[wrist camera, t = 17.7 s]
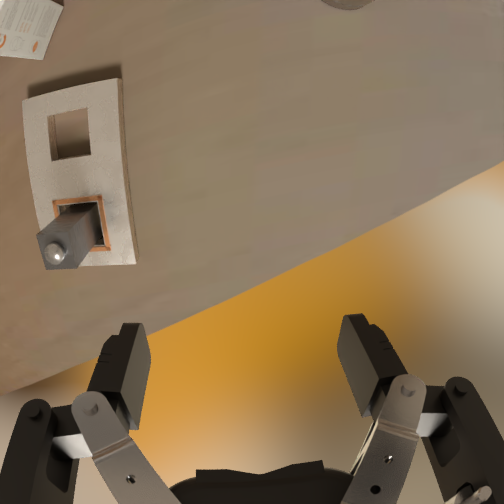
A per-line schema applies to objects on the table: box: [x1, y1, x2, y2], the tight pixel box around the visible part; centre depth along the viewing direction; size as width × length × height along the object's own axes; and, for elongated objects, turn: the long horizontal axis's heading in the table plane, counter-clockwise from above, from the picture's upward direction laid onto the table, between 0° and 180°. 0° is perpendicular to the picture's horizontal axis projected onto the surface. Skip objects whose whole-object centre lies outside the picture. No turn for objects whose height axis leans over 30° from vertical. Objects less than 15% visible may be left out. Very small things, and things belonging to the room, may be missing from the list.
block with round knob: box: [36, 203, 103, 270], centre depth 35 cm, size 4×4×11 cm
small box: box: [0, 0, 63, 60], centre depth 21 cm, size 8×6×13 cm
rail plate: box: [22, 78, 139, 266], centre depth 36 cm, size 24×14×2 cm, turn 0°
